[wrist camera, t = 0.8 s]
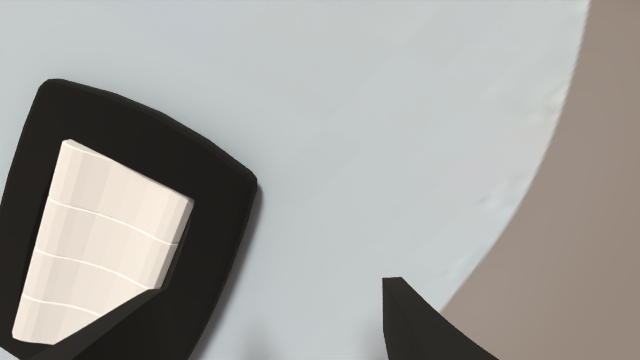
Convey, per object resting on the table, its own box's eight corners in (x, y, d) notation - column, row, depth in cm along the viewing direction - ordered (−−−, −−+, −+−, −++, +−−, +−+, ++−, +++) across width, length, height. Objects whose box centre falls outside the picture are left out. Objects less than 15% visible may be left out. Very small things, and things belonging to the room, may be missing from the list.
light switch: (10, 49, 15) (269, 177, 15) (63, 58, 18) (282, 167, 18) (-52, 350, 20) (146, 446, 20) (-2, 320, 23) (172, 404, 23)
